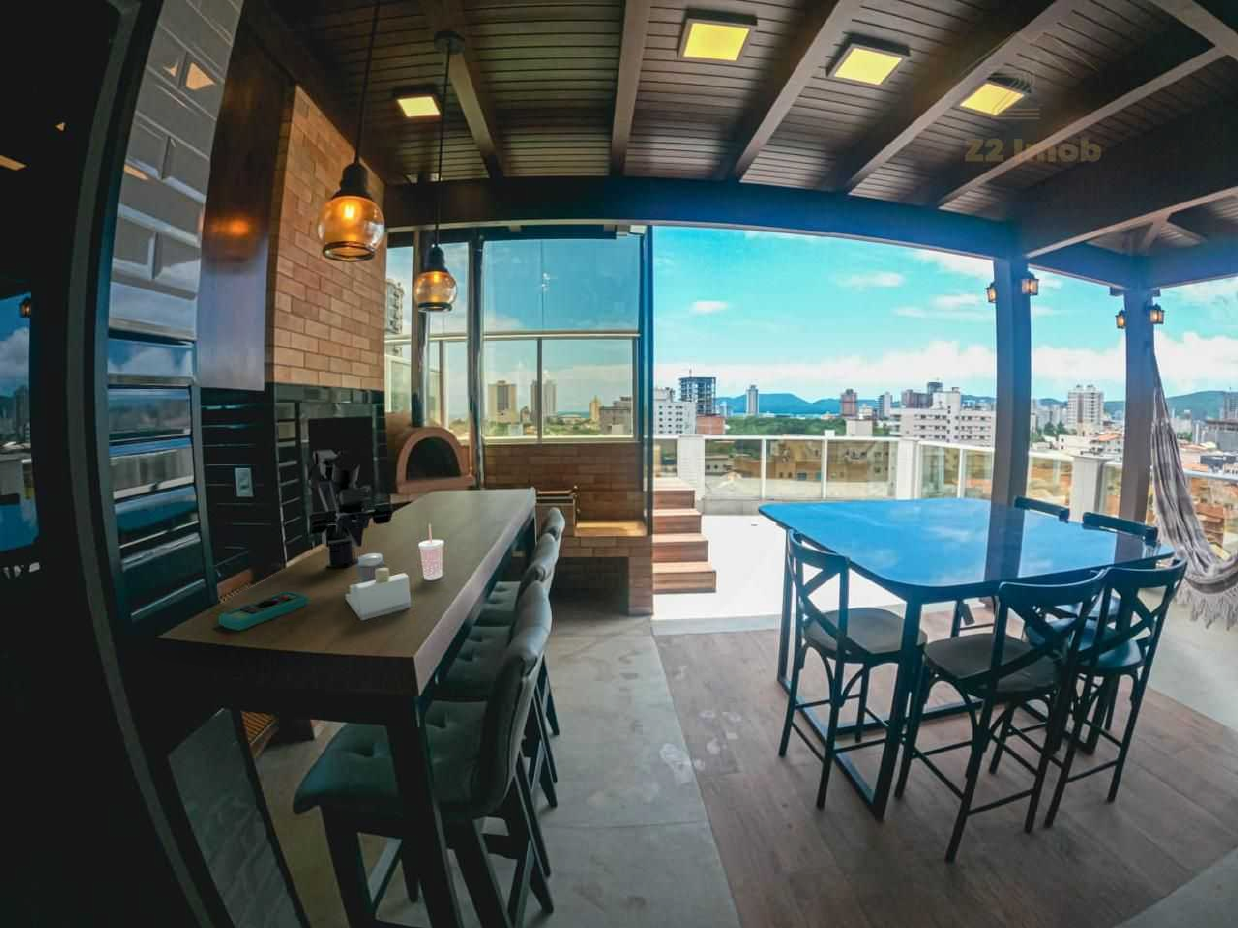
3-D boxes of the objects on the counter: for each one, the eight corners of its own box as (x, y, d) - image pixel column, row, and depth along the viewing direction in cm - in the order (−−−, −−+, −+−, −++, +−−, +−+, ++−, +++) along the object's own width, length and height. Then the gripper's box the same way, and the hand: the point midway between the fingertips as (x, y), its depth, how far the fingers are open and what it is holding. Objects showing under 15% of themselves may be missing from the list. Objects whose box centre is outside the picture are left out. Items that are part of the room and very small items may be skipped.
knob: (358, 591, 114) (355, 556, 113) (381, 586, 117) (379, 551, 116) (364, 598, 110) (361, 561, 109) (387, 592, 114) (385, 556, 112)
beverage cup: (434, 570, 132) (431, 520, 130) (450, 574, 129) (447, 522, 127) (415, 578, 127) (411, 525, 125) (431, 582, 124) (427, 528, 122)
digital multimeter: (311, 605, 112) (310, 593, 111) (238, 633, 98) (236, 619, 98) (290, 600, 115) (289, 588, 114) (217, 627, 101) (215, 613, 101)
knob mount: (346, 599, 114) (342, 560, 112) (392, 588, 120) (389, 551, 119) (361, 620, 103) (357, 577, 101) (411, 607, 109) (408, 566, 108)
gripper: (304, 480, 116) (317, 535, 109) (388, 472, 128) (404, 520, 121) (302, 507, 123) (314, 560, 116) (382, 497, 135) (397, 545, 128)
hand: (359, 545), depth 120 cm, fingers closed
